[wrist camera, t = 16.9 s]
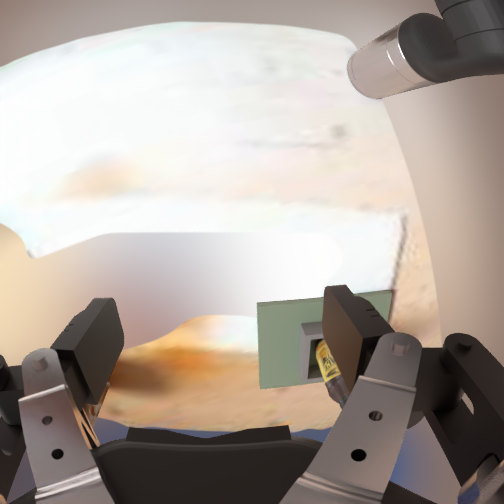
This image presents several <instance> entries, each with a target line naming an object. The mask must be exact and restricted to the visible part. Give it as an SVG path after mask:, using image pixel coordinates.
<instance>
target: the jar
mask: <svg viewBox="0 0 504 504" xmlns="http://www.w3.org/2000/svg"><path fill="white" fill-rule="evenodd" d="M423 417H424V414H423V412H422V411H419V412H411V414H410V418H409V421H408V425H407V428H406V429H408V428H411V427H412V426H414V425H416V424H417V423H418V422H419V421H420V420H421V419H422V418H423Z"/></svg>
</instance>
